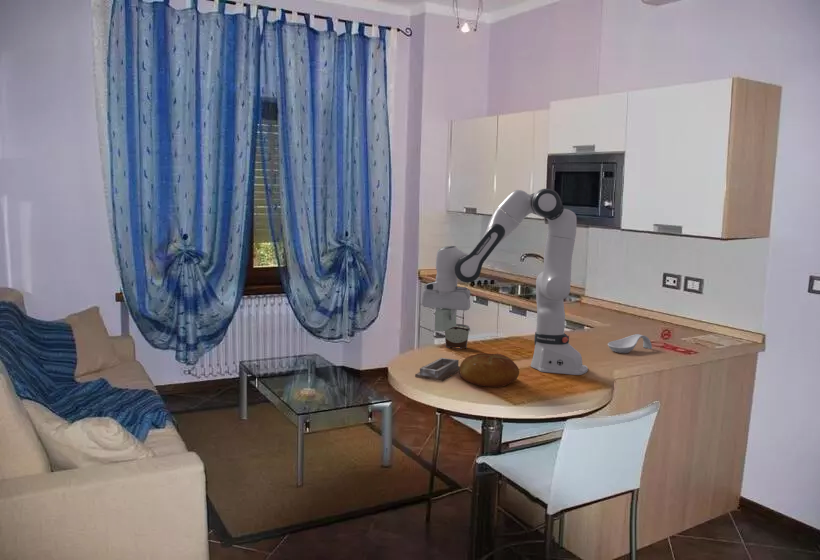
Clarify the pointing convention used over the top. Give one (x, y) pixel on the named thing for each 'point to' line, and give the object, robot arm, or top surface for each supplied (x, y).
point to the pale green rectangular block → (444, 320)
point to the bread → (489, 370)
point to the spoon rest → (629, 343)
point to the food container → (457, 336)
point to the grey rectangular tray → (439, 369)
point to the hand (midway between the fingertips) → (445, 319)
